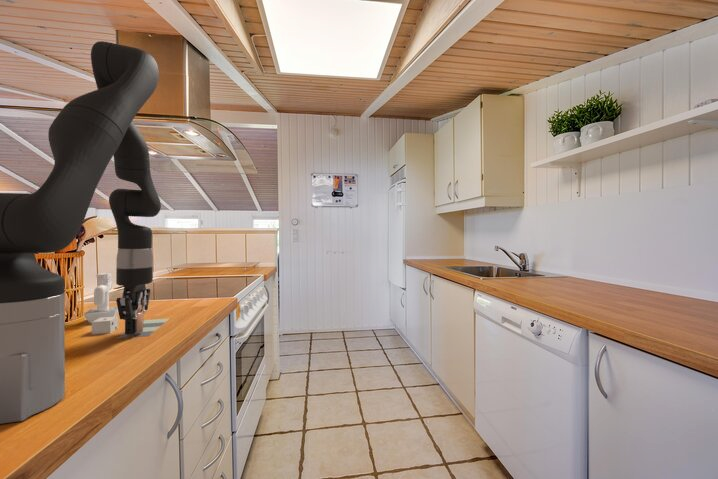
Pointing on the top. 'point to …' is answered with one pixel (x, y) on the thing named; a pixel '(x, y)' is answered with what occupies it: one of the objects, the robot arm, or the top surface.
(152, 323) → the board
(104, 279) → the figurine
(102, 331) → the die
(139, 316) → the pawn
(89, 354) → the top surface
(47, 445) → the top surface
